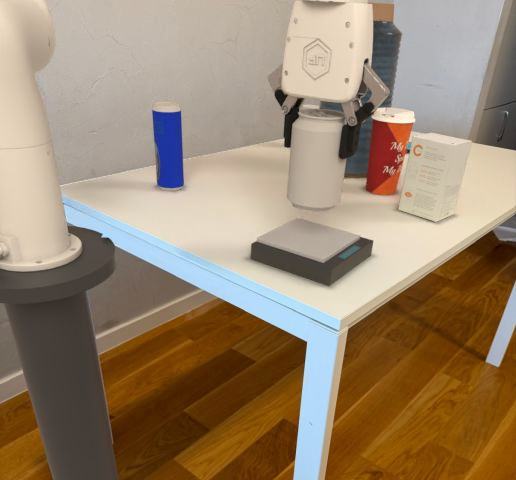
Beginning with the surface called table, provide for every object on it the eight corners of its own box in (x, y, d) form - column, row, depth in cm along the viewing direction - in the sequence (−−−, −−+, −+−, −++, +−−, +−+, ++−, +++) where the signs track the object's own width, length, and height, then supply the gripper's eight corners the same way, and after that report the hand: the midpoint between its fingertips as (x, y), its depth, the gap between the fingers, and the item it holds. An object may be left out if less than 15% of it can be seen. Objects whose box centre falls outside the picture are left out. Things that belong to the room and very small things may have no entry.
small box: (453, 215, 92) (473, 140, 85) (435, 222, 88) (454, 145, 81) (415, 203, 97) (431, 131, 90) (396, 210, 93) (411, 135, 86)
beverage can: (160, 182, 101) (155, 100, 92) (185, 184, 101) (182, 102, 92) (154, 190, 96) (148, 105, 88) (181, 192, 96) (178, 106, 88)
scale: (329, 286, 67) (332, 265, 65) (250, 259, 73) (251, 239, 71) (371, 255, 76) (374, 236, 74) (297, 233, 82) (299, 215, 80)
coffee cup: (393, 199, 98) (409, 116, 90) (354, 191, 102) (366, 110, 93) (406, 189, 104) (422, 110, 96) (369, 181, 108) (381, 105, 99)
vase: (315, 177, 109) (334, 0, 91) (307, 157, 122) (322, 0, 104) (390, 179, 109) (423, 5, 92) (373, 160, 123) (399, 5, 105)
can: (308, 217, 66) (318, 118, 59) (275, 200, 71) (281, 108, 64) (351, 209, 69) (365, 115, 63) (317, 193, 74) (326, 105, 68)
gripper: (253, -17, 58) (248, 144, 68) (395, -13, 50) (366, 169, 60) (288, -14, 63) (279, 136, 73) (422, -10, 55) (391, 158, 65)
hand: (318, 150), depth 66 cm, fingers closed on can, 7 cm apart
